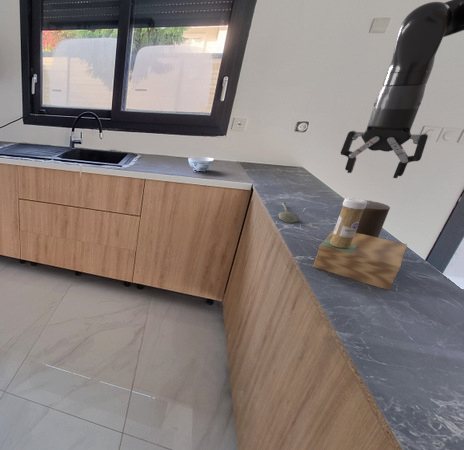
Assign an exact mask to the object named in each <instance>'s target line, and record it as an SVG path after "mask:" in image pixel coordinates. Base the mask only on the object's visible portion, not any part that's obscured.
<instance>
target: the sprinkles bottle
mask: <svg viewBox="0 0 464 450" xmlns="http://www.w3.org/2000/svg"><path fill="white" fill-rule="evenodd" d="M367 201H368V200H367ZM367 201H365V199H361V198H357V197H346V198H344V200H343V201H342V202H343V203H342V207H341V211H340V213H339V215H338V219H337V221H336V224H335V226H334V228H335V229H334V228H333V230H334V232H333V236H332V239H331V241H330V244H331V245H333V246H335V247H338V248H350V247H351V242H352V240H353V237H354V235H355V233H356V230H357V227H358V224H359V221H360V219H361V216H362V213H363V210H364V209H365V208H366V205H367Z"/></svg>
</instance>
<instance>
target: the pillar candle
mask: <svg viewBox="0 0 464 450" xmlns="http://www.w3.org/2000/svg"><path fill="white" fill-rule="evenodd" d="M364 200H365V199H364ZM365 201H367V205H366V208H365V209H364V210H363V213H362V216H361V219H360V221H359V224H358V227H357V230H356V233H360V234H364V235H369V236H373V237H377V238H380V237H379V236H380V234H381V233H382V232H381V231H382V230H383V227H384V224H385V221H386V219H387V216H388V214H389V212H390V209H391V207H390V206H389V205H388V204H385V203H382V202H378V201H374V200H365Z"/></svg>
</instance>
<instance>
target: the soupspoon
mask: <svg viewBox="0 0 464 450" xmlns="http://www.w3.org/2000/svg"><path fill="white" fill-rule="evenodd" d="M280 205H281V206H283V209H284V211H281V212H279V213H278V218H279V219H280V220H281V221H283V222H285V223H287V224H295V223H298V221H299V216H298V215H297V214H296V213H294V212H292V211H289V210H288V208H287V206H286V205H287V203H286V202H285V201H281V203H280Z"/></svg>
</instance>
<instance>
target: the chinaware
mask: <svg viewBox="0 0 464 450" xmlns="http://www.w3.org/2000/svg"><path fill="white" fill-rule="evenodd" d="M187 159H188V164H189V166H190V167H191V169H193V171H194V170H197V171H204V172H206V170H208V169H209V168H210V167H212V165H213V163H214V161H215V159H214V158H212V157H208V156H190V157H188V158H187Z"/></svg>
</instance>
